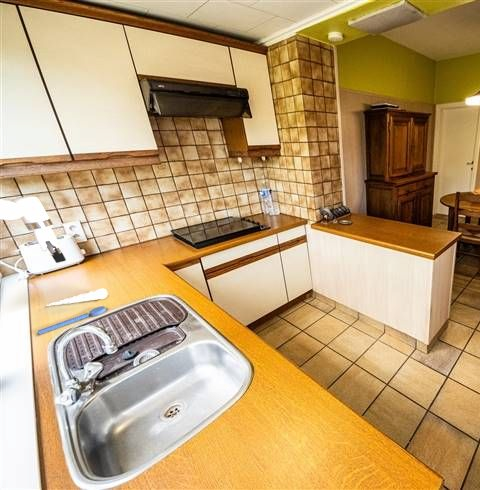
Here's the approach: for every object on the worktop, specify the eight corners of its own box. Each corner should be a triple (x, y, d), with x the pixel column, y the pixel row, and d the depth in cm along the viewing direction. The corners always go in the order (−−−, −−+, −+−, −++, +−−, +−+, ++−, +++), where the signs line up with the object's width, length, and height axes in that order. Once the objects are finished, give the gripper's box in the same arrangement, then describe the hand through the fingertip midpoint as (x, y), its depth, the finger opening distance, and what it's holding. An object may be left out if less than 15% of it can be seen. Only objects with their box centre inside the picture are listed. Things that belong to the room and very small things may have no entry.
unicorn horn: (53, 301, 124) (47, 293, 122) (109, 294, 127) (105, 286, 125) (43, 307, 119) (37, 299, 117) (102, 300, 122) (97, 291, 120)
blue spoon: (38, 336, 101) (36, 333, 101) (40, 330, 104) (38, 328, 104) (106, 311, 114) (105, 309, 113) (105, 307, 117) (104, 304, 117)
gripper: (28, 223, 120) (50, 259, 127) (24, 230, 110) (48, 269, 118) (52, 219, 125) (72, 254, 132) (51, 225, 115) (72, 262, 122)
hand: (61, 261), depth 125 cm, fingers closed
